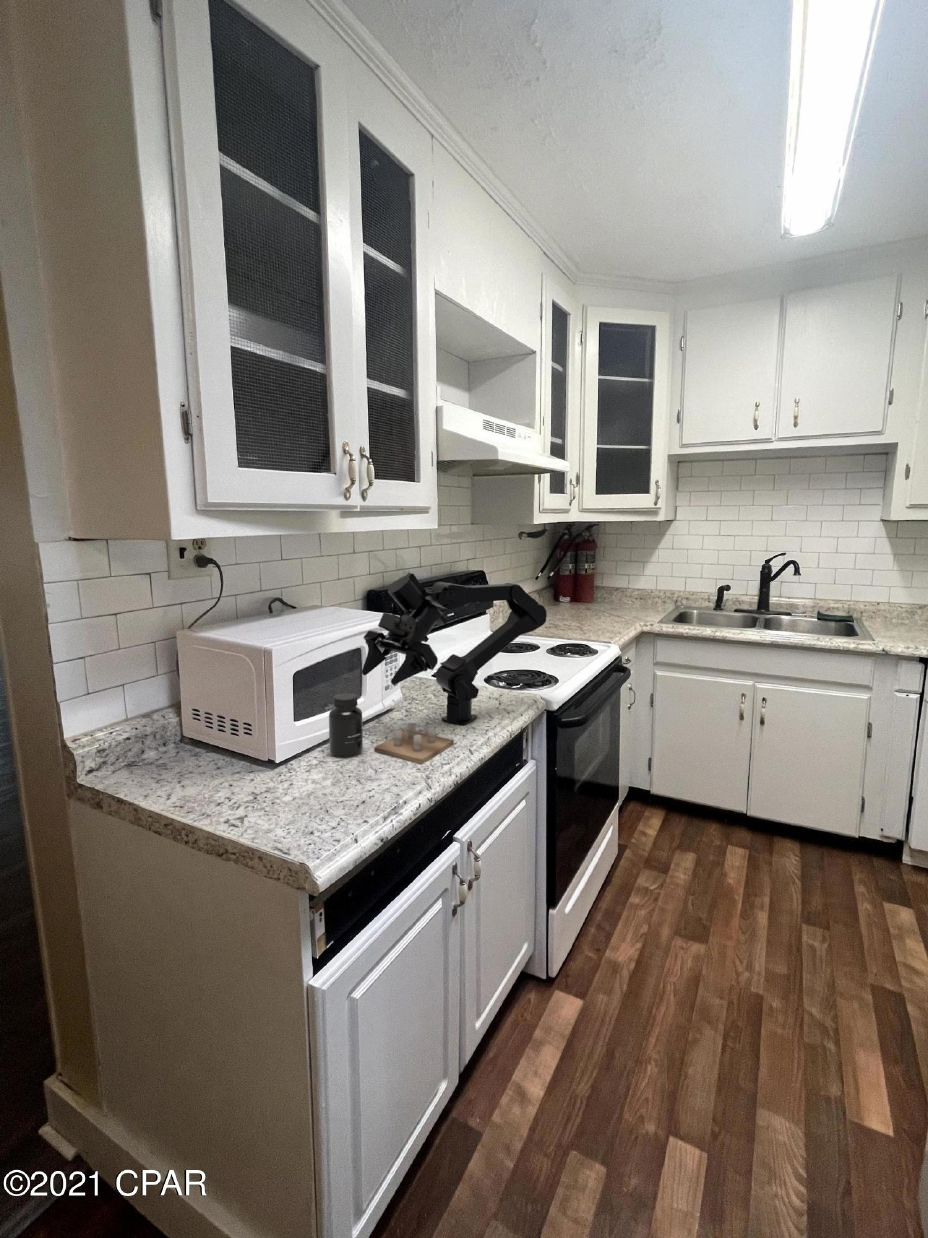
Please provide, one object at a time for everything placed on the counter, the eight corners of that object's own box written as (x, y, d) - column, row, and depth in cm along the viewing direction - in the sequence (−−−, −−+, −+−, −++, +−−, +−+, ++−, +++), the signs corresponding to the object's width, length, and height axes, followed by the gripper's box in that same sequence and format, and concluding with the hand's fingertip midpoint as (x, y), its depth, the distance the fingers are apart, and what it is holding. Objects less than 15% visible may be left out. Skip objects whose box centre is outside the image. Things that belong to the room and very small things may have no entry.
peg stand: (408, 733, 133) (408, 716, 132) (453, 744, 127) (453, 726, 126) (374, 751, 123) (374, 733, 122) (421, 764, 117) (421, 745, 116)
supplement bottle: (355, 759, 119) (354, 702, 117) (324, 757, 120) (322, 700, 118) (368, 746, 125) (366, 692, 123) (337, 744, 127) (336, 690, 124)
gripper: (373, 594, 133) (330, 646, 125) (433, 606, 121) (390, 663, 114) (395, 627, 140) (355, 678, 132) (454, 641, 128) (414, 697, 121)
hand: (377, 678), depth 125 cm, fingers open, 9 cm apart
